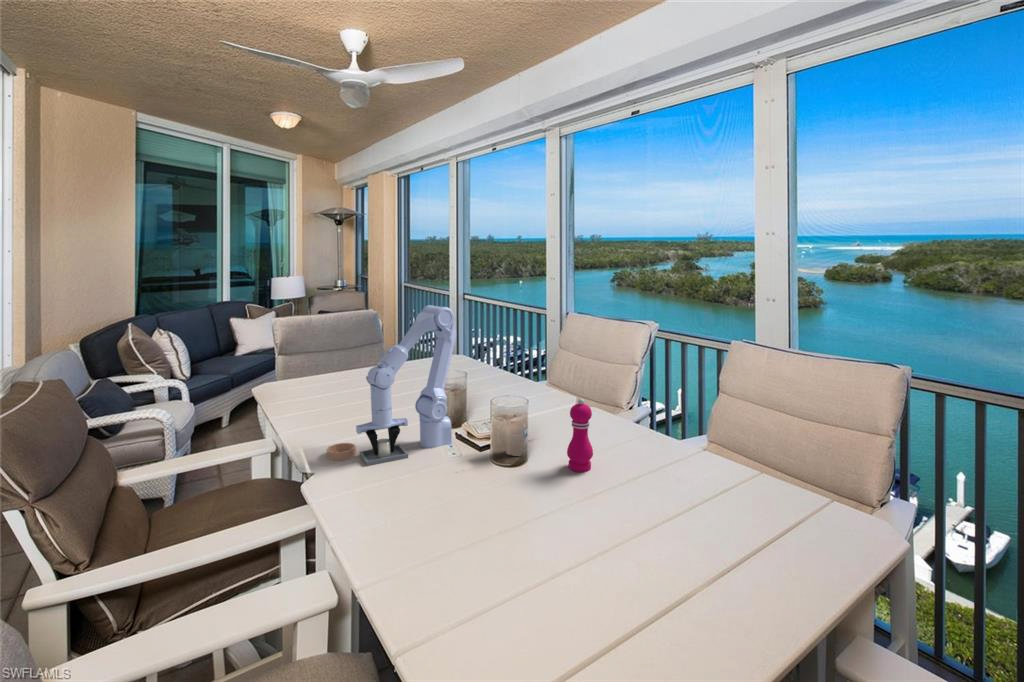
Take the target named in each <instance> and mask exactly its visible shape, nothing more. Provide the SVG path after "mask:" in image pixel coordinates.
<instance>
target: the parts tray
mask: <svg viewBox="0 0 1024 682" xmlns="http://www.w3.org/2000/svg"><path fill="white" fill-rule="evenodd" d="M358 455H359V457H360V458H361V460H362V461H363V463H364V465H365V466H366V467H370V466H371V467H372V466H376V465H380V464H385V463H390V462H396V461H401V460H405V459H406V460H407V459H409V453H408V452H407V451H406V450H405V449H404V447H402V446H401V444H399V443H397V444H395V446H394V452H391V457H386V458H381V459H378V458H377V455H375V454H374V452H373V448H370V449H365V450H360V451H359V454H358Z"/></svg>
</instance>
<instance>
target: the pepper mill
mask: <svg viewBox="0 0 1024 682" xmlns="http://www.w3.org/2000/svg"><path fill="white" fill-rule="evenodd" d="M592 412H593V411H592V409H591V407H590V406H589V405H588V404H585V399H583V398H579V399H577V403H575V404H574V405H572V407H570V410H569V415H570V416H569V417H570V418H571V427H572V437H571V439H570V442H569V444H568V446H567V448H566V454H567V455H566V456H567V457H568V458H569V460H568V468H569V469H570V470H571V471H573V472H576V473H585V472H588V471H590V470H591V469H592V462H591V459H592V458H593V456H594V450H593V445H592V444H591V443H592V442H591V441H590V438H589V434H588V432H589V428H590V423H591V422H590V420H591V419H592V416H593V413H592Z"/></svg>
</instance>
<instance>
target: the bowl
mask: <svg viewBox="0 0 1024 682" xmlns="http://www.w3.org/2000/svg"><path fill="white" fill-rule="evenodd" d="M356 455H357V446H356V444H355V443H351V442H340V443H334V444H332V445H330V446H328V447H327V448H326V457H327V459H328V460H331V461H344V460H348V459H351V458H354V457H355V456H356Z"/></svg>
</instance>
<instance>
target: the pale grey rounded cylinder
mask: <svg viewBox="0 0 1024 682" xmlns="http://www.w3.org/2000/svg"><path fill="white" fill-rule="evenodd" d="M377 449H378V455H377V458H378V459H381V458H386V457H391V448H390V439H389V438H379V439H377Z"/></svg>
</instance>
